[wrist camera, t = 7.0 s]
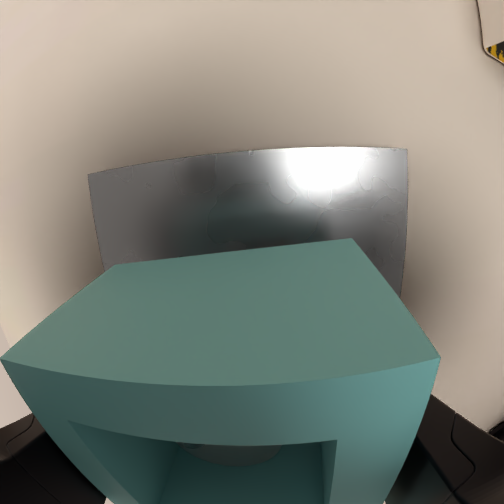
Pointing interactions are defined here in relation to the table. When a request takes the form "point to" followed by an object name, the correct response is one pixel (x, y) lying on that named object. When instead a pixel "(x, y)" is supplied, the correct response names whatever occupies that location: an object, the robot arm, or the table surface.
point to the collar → (233, 377)
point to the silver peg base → (254, 216)
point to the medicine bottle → (493, 27)
